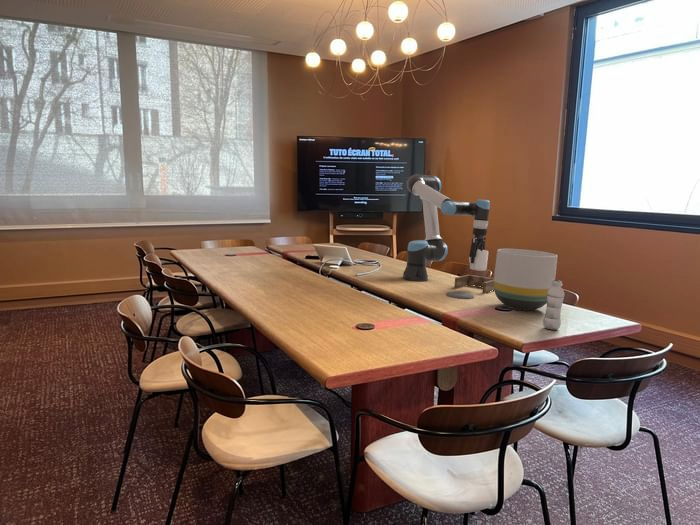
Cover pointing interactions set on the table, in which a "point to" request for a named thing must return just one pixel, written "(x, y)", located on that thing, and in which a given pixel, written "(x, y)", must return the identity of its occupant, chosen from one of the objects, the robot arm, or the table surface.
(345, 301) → the table surface
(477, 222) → the robot arm
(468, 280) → the dock
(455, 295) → the coaster
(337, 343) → the table surface
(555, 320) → the plastic bottle
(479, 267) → the mug
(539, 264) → the planter
